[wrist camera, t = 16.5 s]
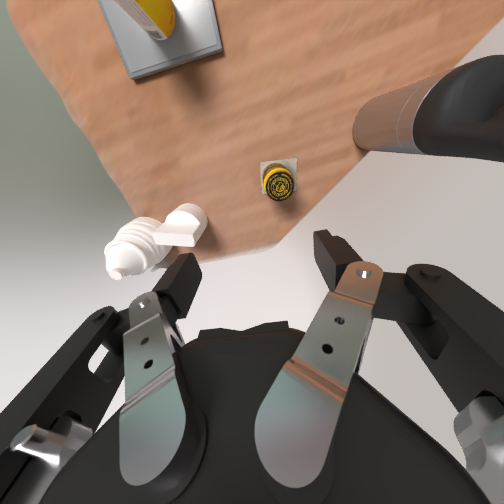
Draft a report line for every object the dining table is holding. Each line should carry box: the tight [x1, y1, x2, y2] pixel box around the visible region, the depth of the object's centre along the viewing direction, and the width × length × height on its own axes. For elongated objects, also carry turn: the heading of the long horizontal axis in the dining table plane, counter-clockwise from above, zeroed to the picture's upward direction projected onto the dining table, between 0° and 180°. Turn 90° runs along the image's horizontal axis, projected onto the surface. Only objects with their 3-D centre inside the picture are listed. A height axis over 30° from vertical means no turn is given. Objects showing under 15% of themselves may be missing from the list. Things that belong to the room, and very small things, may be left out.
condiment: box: [260, 158, 297, 201], centre depth 38 cm, size 7×8×12 cm
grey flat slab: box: [97, 0, 223, 80], centre depth 30 cm, size 18×12×1 cm, turn 102°
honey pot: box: [104, 217, 172, 280], centre depth 45 cm, size 13×13×18 cm
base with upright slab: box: [153, 203, 207, 247], centre depth 44 cm, size 9×9×12 cm
